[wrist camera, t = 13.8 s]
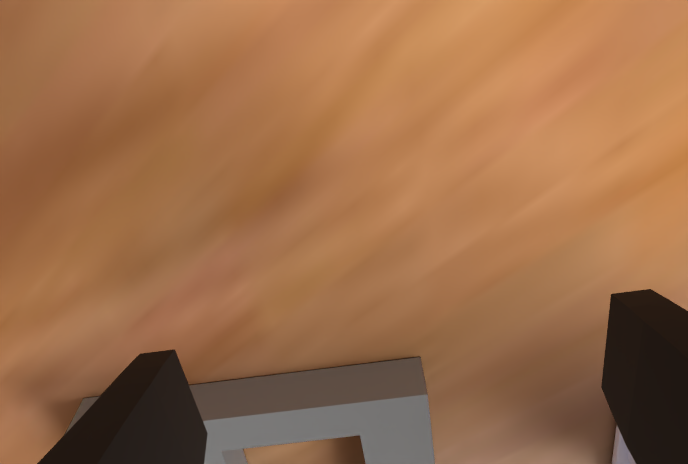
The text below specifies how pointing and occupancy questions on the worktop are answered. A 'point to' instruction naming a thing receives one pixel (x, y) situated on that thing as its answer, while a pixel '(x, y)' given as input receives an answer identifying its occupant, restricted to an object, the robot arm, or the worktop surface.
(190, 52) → the worktop surface
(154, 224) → the worktop surface
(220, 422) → the board
